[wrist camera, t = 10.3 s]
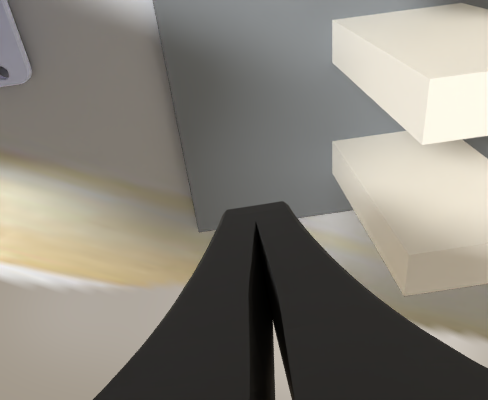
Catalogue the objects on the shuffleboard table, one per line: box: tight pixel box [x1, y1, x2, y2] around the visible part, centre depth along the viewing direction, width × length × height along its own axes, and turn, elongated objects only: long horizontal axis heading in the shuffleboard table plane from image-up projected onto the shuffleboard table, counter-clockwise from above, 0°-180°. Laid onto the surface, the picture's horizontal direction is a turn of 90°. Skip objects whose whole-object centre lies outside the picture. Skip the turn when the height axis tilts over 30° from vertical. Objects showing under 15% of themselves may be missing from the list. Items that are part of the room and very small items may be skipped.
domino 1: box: [332, 3, 488, 145], centre depth 14 cm, size 2×5×8 cm, turn 97°
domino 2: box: [332, 131, 488, 296], centre depth 16 cm, size 2×5×8 cm, turn 97°
